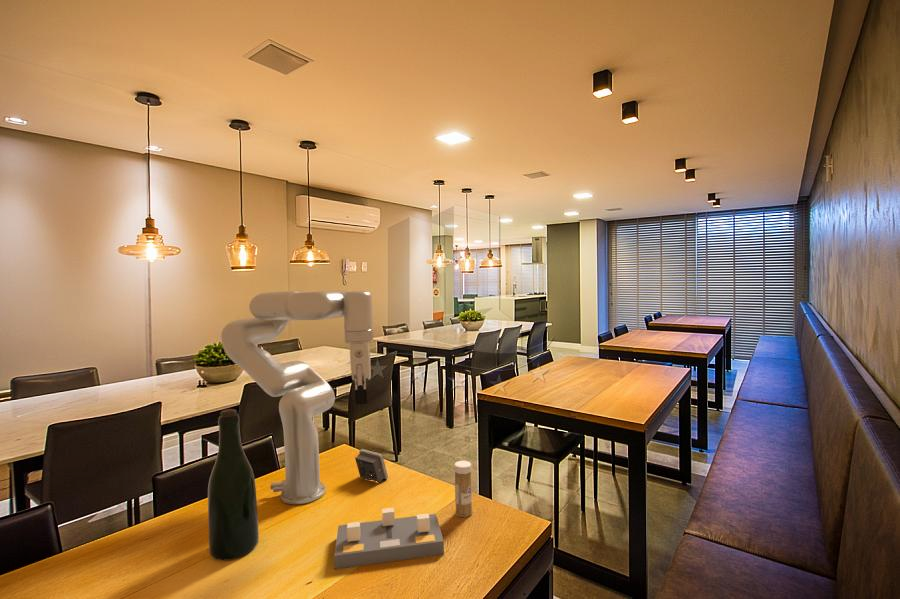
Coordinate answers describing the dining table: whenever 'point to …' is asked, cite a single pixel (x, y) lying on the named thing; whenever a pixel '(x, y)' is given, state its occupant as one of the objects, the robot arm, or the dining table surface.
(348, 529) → the slider left
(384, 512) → the slider middle
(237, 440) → the beer bottle
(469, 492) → the sprinkles bottle
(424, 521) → the slider right
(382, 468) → the electrical switch
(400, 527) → the switch panel
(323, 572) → the dining table surface
